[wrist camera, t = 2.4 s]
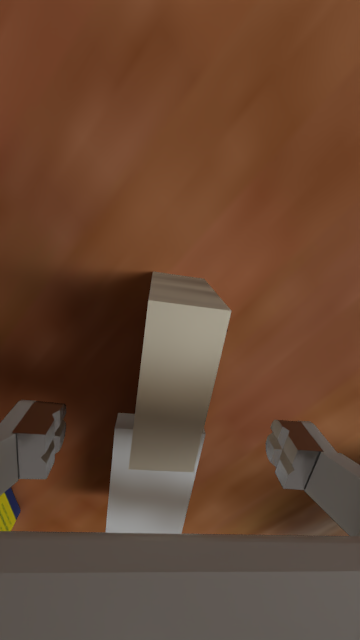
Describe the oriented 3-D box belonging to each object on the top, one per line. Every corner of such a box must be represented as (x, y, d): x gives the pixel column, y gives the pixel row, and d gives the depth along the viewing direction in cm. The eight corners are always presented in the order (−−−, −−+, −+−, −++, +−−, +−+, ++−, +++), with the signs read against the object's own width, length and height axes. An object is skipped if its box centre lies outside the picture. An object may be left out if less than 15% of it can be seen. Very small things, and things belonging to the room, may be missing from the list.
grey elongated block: (135, 269, 14) (119, 296, 9) (220, 281, 15) (257, 314, 9) (114, 483, 20) (96, 584, 14) (177, 486, 20) (183, 584, 15)
